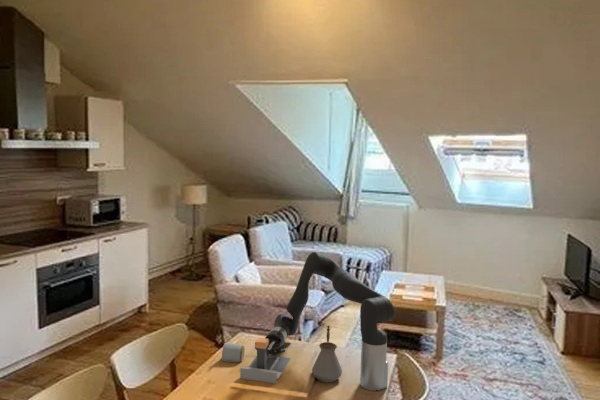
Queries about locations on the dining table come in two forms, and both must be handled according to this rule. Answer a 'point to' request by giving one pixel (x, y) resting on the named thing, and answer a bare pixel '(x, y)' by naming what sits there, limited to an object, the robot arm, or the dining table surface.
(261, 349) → the fader
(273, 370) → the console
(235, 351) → the ceramic mug
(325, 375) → the coffee pot
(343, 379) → the dining table surface
